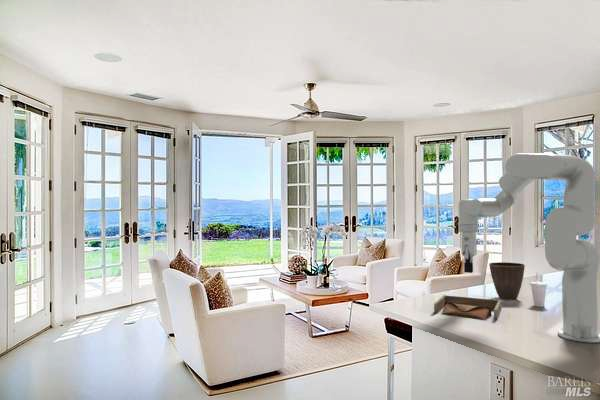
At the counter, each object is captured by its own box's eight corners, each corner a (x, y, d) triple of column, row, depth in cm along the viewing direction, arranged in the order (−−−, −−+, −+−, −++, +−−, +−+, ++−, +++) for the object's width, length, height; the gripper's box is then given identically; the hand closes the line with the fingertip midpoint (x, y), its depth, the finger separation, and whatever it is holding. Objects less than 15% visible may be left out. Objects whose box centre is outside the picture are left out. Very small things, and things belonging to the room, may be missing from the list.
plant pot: (493, 301, 192) (492, 265, 192) (487, 294, 206) (486, 261, 207) (529, 302, 188) (528, 266, 189) (520, 295, 203) (519, 262, 203)
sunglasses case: (439, 314, 169) (441, 298, 172) (443, 319, 174) (445, 304, 177) (487, 320, 159) (489, 303, 162) (490, 326, 164) (492, 309, 167)
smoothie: (532, 303, 187) (531, 271, 187) (549, 305, 183) (548, 272, 183) (529, 306, 182) (528, 273, 182) (546, 308, 178) (545, 274, 178)
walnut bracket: (497, 320, 159) (496, 309, 159) (434, 313, 170) (434, 303, 170) (501, 309, 175) (501, 300, 175) (443, 304, 187) (443, 295, 187)
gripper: (475, 229, 170) (475, 275, 169) (480, 227, 183) (480, 270, 182) (455, 229, 173) (456, 274, 173) (461, 227, 186) (462, 269, 186)
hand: (468, 272), depth 178 cm, fingers closed
